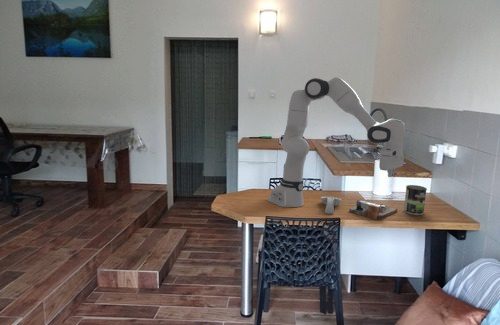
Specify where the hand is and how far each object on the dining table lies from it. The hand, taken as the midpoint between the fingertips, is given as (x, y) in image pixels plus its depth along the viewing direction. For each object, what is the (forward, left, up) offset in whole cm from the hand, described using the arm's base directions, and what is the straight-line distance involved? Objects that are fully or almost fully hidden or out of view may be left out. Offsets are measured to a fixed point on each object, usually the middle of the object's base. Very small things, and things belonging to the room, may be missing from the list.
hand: (390, 176), depth 196 cm
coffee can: (+7, +17, -21) cm, 28 cm away
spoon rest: (-27, -13, -21) cm, 37 cm away
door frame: (-7, 0, -21) cm, 22 cm away
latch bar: (-6, -7, -18) cm, 20 cm away
